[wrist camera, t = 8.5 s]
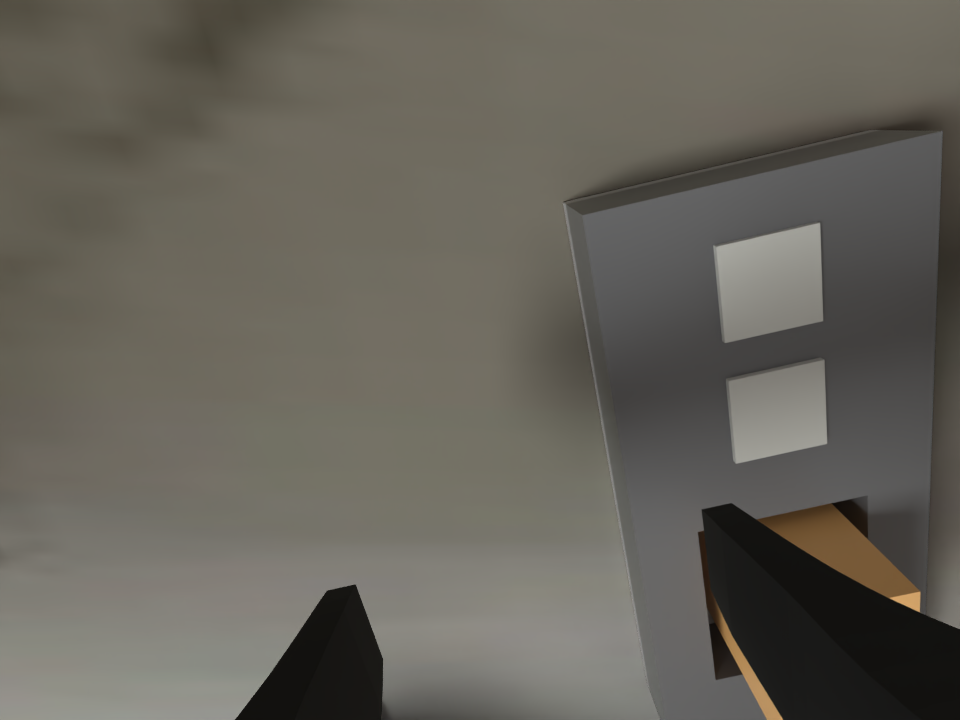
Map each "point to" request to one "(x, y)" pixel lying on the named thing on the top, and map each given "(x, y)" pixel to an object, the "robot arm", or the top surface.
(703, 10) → the top surface
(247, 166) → the top surface
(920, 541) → the power strip
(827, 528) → the plug block
